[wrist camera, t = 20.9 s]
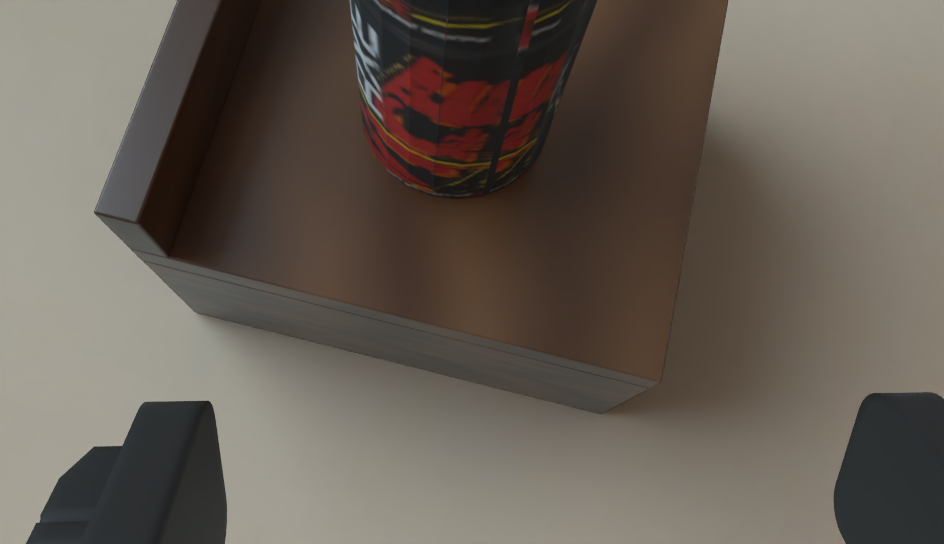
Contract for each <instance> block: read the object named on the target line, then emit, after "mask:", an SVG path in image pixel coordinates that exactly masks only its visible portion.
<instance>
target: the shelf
mask: <svg viewBox="0 0 944 544" xmlns="http://www.w3.org/2000/svg"><path fill="white" fill-rule="evenodd" d="M727 5H728V0H597V3H596V6H595V8H594V11H593V14H592V16H591V19H590V22H589V24H588V27H587V30H586V32H585V35H584V38H583V41H582V43H581V46H580V49H579V51H578V54H577V57H576V59H575V62H574V65H573V67H572V70H571V73H570V76H569V78H568V81H567V84H566V86H565V89H564V92H563V94H562V97H561V100H560V102H559V105H558V108H557V110H556V113H555V116H554V119H553V121H552V124H551V127H550V129H549V132H548V135H547V137H546V140H545V142H544V145H543V147H542V150H541V152H540V155H539V156H538V157H537V159H536V160H535V161H534V162H533V164H532V165H531V166H530V167H529V169H528V170H527V171H526V173H525V174H523V175H522V176H520V177H519V178H518V179H516V180H515V181H514V182H512V183H511V184H509V185H508V186H507V187H505V188H503V189H500V190H497V191H495V192H492V193H490V194H487V195H484V196H480V197H471V198H462V199H453V198H445V197H438V196H431V195H429V194H426V193H424V192H421V191H419V190H416V189H414V188H411V187H409V186H407V185H406V184H404V183H403V182H402V181H400V180H399V179H398V178H396V177H395V176H393V175H392V174H391V173H389V172H388V171H387V170H386V168H385V167H384V166H383V165H382V163H381V162H380V161H379V160H378V159H377V157H376V156H375V155H374V154H373V152H372V150H371V147H370V145H369V143H368V140H367V138H366V136H365V133H364V130H363V122H362V114H361V105H360V96H359V87H358V78H357V68H356V59H355V50H354V40H353V31H352V22H351V12H350V3H349V0H177V3H176V5H175V8H174V10H173V13H172V16H171V18H170V21H169V23H168V26H167V28H166V31H165V33H164V36H163V38H162V41H161V43H160V46H159V48H158V51H157V54H156V56H155V59H154V61H153V64H152V66H151V69H150V71H149V74H148V76H147V79H146V81H145V84H144V86H143V89H142V92H141V94H140V97H139V99H138V102H137V104H136V107H135V109H134V112H133V114H132V117H131V119H130V122H129V124H128V127H127V130H126V132H125V135H124V137H123V140H122V142H121V145H120V147H119V150H118V152H117V155H116V157H115V160H114V162H113V165H112V168H111V170H110V173H109V175H108V178H107V180H106V183H105V185H104V188H103V190H102V193H101V195H100V198H99V200H98V203H97V206H96V208H95V211H94V213H95V214H96V215H97V216H98V217H99V218H100V219H101V220H102V221H103V222H104V223H105V224H106V225H107V226H108V227H109V228H110V229H111V230H112V231H113V232H114V233H115V234H116V235H117V236H118V237H119V238H120V239H121V240H122V241H123V242H124V243H125V244H126V245H127V246H128V247H129V248H130V249H131V250H132V251H133V252H134V253H135V254H136V255H137V256H138V257H139V258H140V259H141V260H143V262H144V263H145V264H146V265H147V266H149V267H150V268H151V269H152V270H153V271H154V272H155V273H156V274H157V275H158V276H159V277H160V278H161V279H162V280H163V281H164V282H165V283H166V284H167V285H168V286H169V287H170V288H171V289H172V290H173V291H174V292H175V293H176V294H177V295H178V296H179V297H180V298H181V299H182V300H183V301H184V302H185V303H186V304H187V305H188V306H189V307H190V308H191V309H192V310H193V311H194V312H196V313H200V314H204V315H208V316H212V317H216V318H220V319H224V320H228V321H232V322H236V323H240V324H244V325H248V326H252V327H256V328H260V329H264V330H268V331H272V332H276V333H280V334H284V335H288V336H292V337H296V338H300V339H304V340H308V341H312V342H316V343H320V344H324V345H328V346H332V347H336V348H340V349H344V350H348V351H352V352H356V353H360V354H363V355H367V356H371V357H375V358H379V359H383V360H387V361H391V362H395V363H399V364H403V365H407V366H411V367H415V368H419V369H423V370H427V371H431V372H435V373H439V374H443V375H447V376H451V377H455V378H459V379H463V380H467V381H471V382H475V383H479V384H483V385H487V386H491V387H495V388H499V389H503V390H507V391H511V392H515V393H519V394H523V395H527V396H531V397H535V398H539V399H543V400H546V401H550V402H554V403H558V404H562V405H566V406H570V407H574V408H578V409H582V410H586V411H590V412H594V413H598V414H602V413H604V412H606V411H607V410H609V409H611V408H613V407H615V406H617V405H619V404H620V403H622V402H624V401H626V400H628V399H630V398H632V397H633V396H635V395H637V394H639V393H641V392H643V391H645V390H646V389H648V388H651V387H653V386H654V385H656V384H658V383H660V382H661V381H662V376H663V370H664V364H665V359H666V353H667V347H668V342H669V336H670V330H671V325H672V319H673V313H674V307H675V302H676V296H677V290H678V285H679V279H680V273H681V267H682V262H683V256H684V250H685V245H686V239H687V233H688V228H689V222H690V216H691V210H692V205H693V199H694V193H695V188H696V182H697V176H698V171H699V165H700V159H701V153H702V148H703V142H704V136H705V131H706V125H707V119H708V114H709V108H710V102H711V96H712V91H713V85H714V79H715V74H716V68H717V62H718V57H719V51H720V45H721V39H722V34H723V28H724V22H725V17H726V11H727Z"/></svg>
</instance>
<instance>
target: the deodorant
mask: <svg viewBox="0 0 944 544" xmlns="http://www.w3.org/2000/svg"><path fill="white" fill-rule="evenodd" d="M349 3H350V12H351V22H352V31H353V40H354V50H355V59H356V68H357V78H358V87H359V96H360V105H361V114H362V122H363V130H364V133H365V136H366V138H367V140H368V143H369V145H370V147H371V150H372V152H373V154H374V155H375V156H376V157H377V159H378V160H379V161H380V162H381V163H382V165H383V166H384V167H385V168H386V170H387V171H388V172H389V173H391V174H392V175H393V176H395V177H396V178H398V179H399V180H400V181H402V182H403V183H404V184H406V185H407V186H409V187H411V188H414V189H416V190H419V191H421V192H424V193H426V194H429V195H431V196H438V197H445V198H453V199H462V198H471V197H480V196H484V195H487V194H490V193H492V192H495V191H497V190H500V189H503V188H505V187H507V186H508V185H509V184H511V183H512V182H514V181H515V180H516V179H518V178H519V177H520V176H522V175H523V174H525V173H526V171H527V170H528V169H529V167H530V166H531V165H532V164H533V162H534V161H535V160H536V159H537V157H538V156H539V155H540V152H541V150H542V147H543V145H544V142H545V140H546V137H547V135H548V132H549V129H550V127H551V124H552V121H553V119H554V116H555V113H556V110H557V108H558V105H559V102H560V100H561V97H562V94H563V92H564V89H565V86H566V84H567V81H568V78H569V76H570V73H571V70H572V67H573V65H574V62H575V59H576V57H577V54H578V51H579V49H580V46H581V43H582V41H583V38H584V35H585V32H586V30H587V27H588V24H589V22H590V19H591V16H592V14H593V11H594V8H595V6H596V3H597V0H349Z"/></svg>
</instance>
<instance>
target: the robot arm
mask: <svg viewBox="0 0 944 544" xmlns="http://www.w3.org/2000/svg"><path fill="white" fill-rule="evenodd" d="M834 510H835V516H836V521H837V524H838V528H839V530H840V533H841V535H842V537H843V539H844V540H845V542H846V544H944V399H943V398H942V397H940V396H939V395H937V394H935V393H929V392H923V393H873V394H870V395H868V396H867V397H866V398H865V399H864V400H863V402H862V403H861V405H860V408H859V411H858V414H857V417H856V420H855V424H854V427H853V430H852V433H851V436H850V440H849V443H848V446H847V449H846V452H845V456H844V459H843V462H842V465H841V469H840V472H839V475H838V478H837V481H836V485H835V490H834ZM40 516H41V520H40V523H36V525H35V527H34V529H33V531H32V533H31V535H30V537H29V539H28V541H27V543H26V544H225V537H226V525H227V503H226V493H225V486H224V478H223V471H222V464H221V457H220V449H219V442H218V435H217V427H216V420H215V414H214V410H213V406H212V404H211V403H210V402H209V401H174V402H144V403H143V404H142V405H141V406H140V408H139V410H138V412H137V414H136V416H135V419H134V421H133V423H132V426H131V428H130V430H129V432H128V435H127V437H126V439H125V442H124V444H123V446H107V447H93V448H92V449H91V450H90V451H89V452H88V453H87V454H86V455H85V456H83V457H82V458H81V459H80V460H79V461H78V462H77V463H76V464H75V465H74V466H72V467H71V468H70V469H69V470H68V471H67V472H66V473H65V474H64V475H63V476H61V477H60V478H59V480H58V482H57V484H56V486H55V488H54V490H53V492H52V494H51V496H50V498H49V500H48V502H47V504H46V505H45V507H44V509H43V511H42V513H41V515H40Z"/></svg>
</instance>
